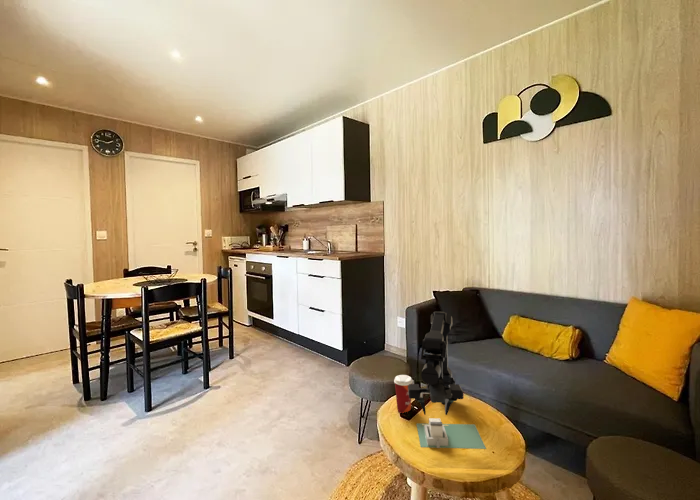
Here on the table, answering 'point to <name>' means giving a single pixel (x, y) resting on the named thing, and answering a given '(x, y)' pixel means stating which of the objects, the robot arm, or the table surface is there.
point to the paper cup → (403, 393)
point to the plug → (435, 427)
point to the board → (451, 436)
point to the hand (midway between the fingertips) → (435, 414)
